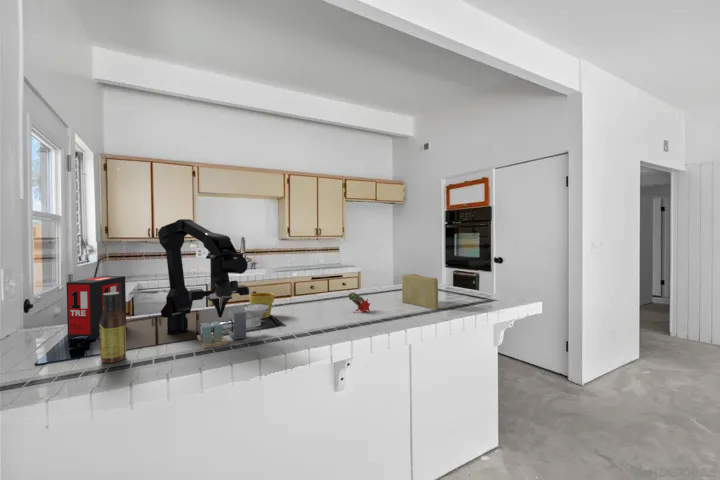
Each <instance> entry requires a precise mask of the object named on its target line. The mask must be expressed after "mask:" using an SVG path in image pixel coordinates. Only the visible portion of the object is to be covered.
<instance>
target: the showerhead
mask: <svg viewBox="0 0 720 480" xmlns="http://www.w3.org/2000/svg"><path fill="white" fill-rule="evenodd" d="M244 306H245V307H244V311H245V312H246V314H249V315H250V319H251V318H258V317H260V319H264V318H263V313H264V312H267V311H268V310H269V306H267V305H264V304H255V305H251V304H249V305H248V304H244Z"/></svg>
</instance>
